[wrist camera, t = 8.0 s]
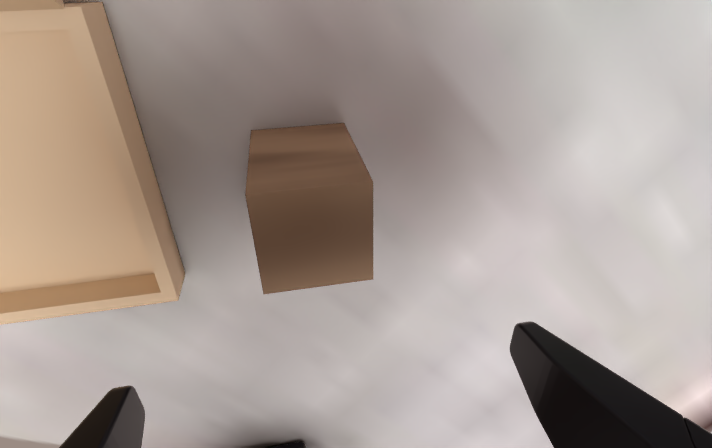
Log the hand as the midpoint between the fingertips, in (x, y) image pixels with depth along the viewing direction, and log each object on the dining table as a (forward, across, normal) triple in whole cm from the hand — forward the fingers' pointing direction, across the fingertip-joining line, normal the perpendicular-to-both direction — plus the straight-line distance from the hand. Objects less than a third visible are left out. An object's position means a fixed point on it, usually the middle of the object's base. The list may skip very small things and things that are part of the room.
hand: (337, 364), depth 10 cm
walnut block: (+11, 0, 0) cm, 11 cm away
